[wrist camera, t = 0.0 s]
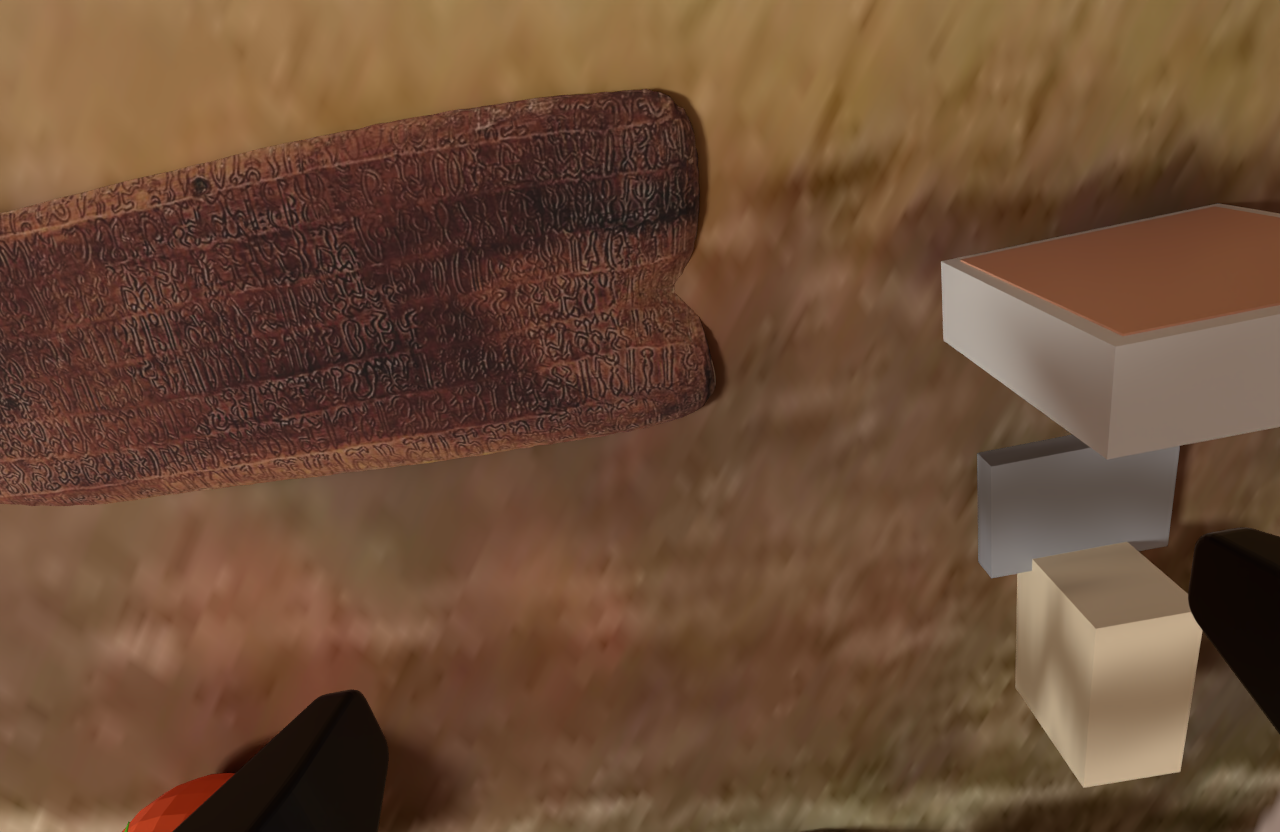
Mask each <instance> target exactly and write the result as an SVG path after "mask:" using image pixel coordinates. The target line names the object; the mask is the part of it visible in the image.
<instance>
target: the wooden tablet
mask: <svg viewBox="0 0 1280 832" xmlns="http://www.w3.org/2000/svg"><path fill="white" fill-rule="evenodd" d="M698 177H699V170H698V153H697V150H696V147H695V136H694V132H693V128H692V125H691V122H690V120H689V117H688V116H687V115H686V112H685V110H684V109H683V108H680V107H679V106H677V105H676V104H675V102H674V101H673V100H672V99H671V98H670V96H668V95H665V94H663V93H660V92H654V91H651V90H648V89H643V90H628V91H619V92H612V93H611V92H601V93H595V94H581V95H561V96H553V97H542V98H534V99H527V100H521V101H515V102H509V103H503V104H497V105H489V106H482V107H477V108H472V109H459V110H453V111H447V112H443V113H438V114H434V115H428V116H421V117H414V118H409V119H403V120H398V121H393V122H389V123H380V124H375V125H371V126H368V127H364V128H361V129H358V130H346V131H343V132H339V133H334V134H329V135H324V136H318V137H314V138H310V139H306V140H301V141H295V142H290V143H285V144H280V145H275V146H270V147H265V148H261V149H257V150H253V151H249V152H246V153H242V154H238V155H234V156H230V157H226V158H223V159H219V160H216V161H212V162H207V163H202V164H198V165H193V166H189V167H186V168H182V169H179V170H175V171H171V172H166V173H161V174H156V175H152V176H147V177H142V178H138V179H133V180H129V181H125V182H121V183H118V184H114V185H110V186H106V187H102V188H99V189H95V190H91V191H87V192H83V193H79V194H75V195H71V196H67V197H62V198H58V199H54V200H51V201H47V202H44V203H40V204H36V205H33V206H29V207H25V208H21V209H17V210H13V211H9V212H4V213H0V504H22V505H29V506H38V505H48V506H71V505H82V504H83V505H94V504H108V503H115V502H121V501H132V500H139V499H144V498H150V497H155V496H161V495H171V494H179V493H184V492H191V491H199V490H209V489H216V488H224V487H231V486H237V485H251V484H255V483H263V482H271V481H278V480H286V479H297V478H309V477H319V476H327V475H333V474H339V473H347V472H357V471H366V470H371V469H382V468H389V467H396V466H404V465H413V464H423V463H431V462H437V461H445V460H450V459H455V458H462V457H470V456H481V455H487V454H492V453H497V452H502V451H508V450H514V449H519V448H530V447H533V446H536V445H551V444H554V443H559V442H567V441H573V440H580V439H584V438H593V437H601V436H606V435H610V434H614V433H618V432H629V431H632V430H636V429H642V428H647V427H651V426H654V425H658V424H661V423H664V422H668V421H671V420H675V419H678V418H682V417H684V416H686V415H688V414H691V413H693V412H695V411H696V410H698V409H699V408H701V407H702V406H704V404H705V402H706V401H707V399H708V398H709V397H710V396H711V395H712V393H713V391H714V389H715V386H716V381H715V371H714V367H713V363H712V359H711V355H710V351H709V347H708V343H707V339H706V336H705V333H704V329H703V326H702V324H701V322H700V318H699V316H698V315H696V314H695V312H694V311H693V310H692V309H691V308H690V307H689V306H688V305H687V304H686V303H685V302H684V301H683V300H682V299H681V298H680V297H679V296H678V295H677V294H676V293H675V288H674V284H675V282H676V281H677V279H678V278H679V277H680V276H681V275H682V273H683V270H684V268H685V266H686V264H687V263H688V261H689V260H690V257H691V254H692V252H693V250H694V241H695V239H696V236H697V225H698V215H699V195H700V189H699V181H698Z"/></svg>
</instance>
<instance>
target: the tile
mask: <svg viewBox="0 0 1280 832" xmlns="http://www.w3.org/2000/svg"><path fill="white" fill-rule="evenodd" d="M941 272H942V305H943V337H944V341H945V342H947V343H948V344H949V345H951V346H952V347H953V348H955V349H956V350H957V351H959V352H960V353H962V354H963V355H964V356H966V357H967V358H968V359H970V360H971V361H973V362H974V363H975V364H977V365H978V366H979V367H981V368H982V369H984V370H985V371H986V372H988V373H989V374H990V375H992V376H993V377H995V378H996V379H997V380H999V381H1000V382H1001V383H1003V384H1004V385H1005V386H1007V387H1008V388H1010V389H1011V390H1012V391H1014V392H1015V393H1016V394H1018V395H1019V396H1021V397H1022V398H1023V399H1025V400H1026V401H1027V402H1029V403H1030V404H1032V405H1033V406H1034V407H1036V408H1037V409H1038V410H1040V411H1041V412H1043V413H1044V414H1045V415H1047V416H1048V417H1049V418H1051V419H1052V420H1053V421H1055V422H1056V423H1058V424H1059V425H1060V426H1062V427H1063V428H1064V429H1066V430H1067V431H1069V432H1070V433H1071V434H1073V435H1074V436H1075V437H1077V438H1078V439H1080V440H1081V441H1082V442H1084V443H1085V444H1086V445H1088V446H1089V447H1090V448H1092V449H1093V450H1095V451H1096V452H1097V453H1099V454H1100V455H1101V456H1103V457H1104V458H1106V459H1113V458H1118V457H1123V456H1128V455H1134V454H1139V453H1144V452H1149V451H1155V450H1160V449H1165V448H1170V447H1176V446H1181V445H1186V444H1191V443H1197V442H1202V441H1207V440H1212V439H1218V438H1223V437H1228V436H1234V435H1239V434H1244V433H1249V432H1255V431H1260V430H1265V429H1270V428H1276V427H1280V213H1274V212H1268V211H1262V210H1256V209H1249V208H1243V207H1237V206H1231V205H1225V204H1219V203H1218V204H1213V205H1208V206H1204V207H1199V208H1194V209H1189V210H1184V211H1180V212H1175V213H1170V214H1165V215H1161V216H1156V217H1151V218H1146V219H1142V220H1137V221H1132V222H1127V223H1122V224H1118V225H1113V226H1108V227H1103V228H1099V229H1094V230H1089V231H1084V232H1079V233H1075V234H1070V235H1065V236H1060V237H1056V238H1051V239H1046V240H1041V241H1036V242H1032V243H1027V244H1022V245H1017V246H1013V247H1008V248H1003V249H998V250H993V251H989V252H984V253H979V254H974V255H970V256H965V257H960V258H955V259H951V260H946V261H941Z"/></svg>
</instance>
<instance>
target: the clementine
mask: <svg viewBox="0 0 1280 832" xmlns="http://www.w3.org/2000/svg"><path fill="white" fill-rule="evenodd" d="M234 774H235V773H221V774H211V775H207V776H204V777H201V778H197V779H195V780H192V781H189V782H187V783H184V784H181V785H179V786H176V787H175V788H173V789H171V790H170V791H168V792H166V793H165V794H163V795H162V796H160V797H159V798H157V799H156V800H155V801H153V802H152V803H151V804H149V805H148V806H146V807H145V808H144V809H142V810H141V811H140V812H139V813H138V814H137V815H136V816H135V817H134V819H133V820H132V821H131V822H128V824H127V827H126V828H125V829H124V830H123V831H122V832H172V831H173V830H175V829H176V828H177V827H178V826H179V825H180V824H181V823H182V822H183V821H184V820H185V819H186V818H188V817H189V816H190V815H191V814H192V813H193V812H194V811H195V810H196V809H197V808H198V807H199V806H201V805H202V804H203V803H204V802H205V801H206V800H207V799H208V798H209V797H210V796H211V795H212V794H214V793H215V792H216V791H217V790H218V789H219V788H220V787H221V786H222V785H223V784H224V783H226V782H227V781H228V780H229V779H230V778H231V777H232V776H233V775H234Z"/></svg>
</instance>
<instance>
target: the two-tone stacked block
mask: <svg viewBox="0 0 1280 832" xmlns="http://www.w3.org/2000/svg"><path fill="white" fill-rule="evenodd" d="M1179 450H1180V446H1176V447H1170V448H1165V449H1160V450H1155V451H1149V452H1144V453H1139V454H1134V455H1128V456H1123V457H1118V458H1113V459H1106V458H1104V457H1103V456H1101V455H1100V454H1099V453H1097V452H1096V451H1095V450H1093V449H1092V448H1090V447H1089V446H1088V445H1086V444H1085V443H1084V442H1082V441H1081V440H1080V439H1078V438H1077V437H1075V436H1074V435H1069V436H1064V437H1058V438H1053V439H1048V440H1043V441H1038V442H1032V443H1027V444H1022V445H1017V446H1012V447H1007V448H1001V449H996V450H991V451H986V452H981V453H977V473H978V562H979V563H980V564H981V566H982V567H983V568H984V569H985V571H986V572H987V573H988V575H989V576H990V577H991V578H995V577H1001V576H1006V575H1012V574H1017V625H1016V684H1015V688H1016V689H1017V691H1018V692H1019V694H1020V695H1021V696H1022V698H1023V699H1024V701H1025V702H1026V704H1027V705H1028V707H1029V708H1030V710H1031V711H1032V713H1033V714H1034V716H1035V717H1036V719H1037V720H1038V721H1039V723H1040V724H1041V726H1042V727H1043V729H1044V730H1045V732H1046V733H1047V735H1048V736H1049V738H1050V739H1051V741H1052V742H1053V743H1054V745H1055V746H1056V748H1057V749H1058V751H1059V752H1060V754H1061V755H1062V757H1063V758H1064V760H1065V761H1066V763H1067V764H1068V766H1069V767H1070V768H1071V770H1072V771H1073V773H1074V774H1075V776H1076V777H1077V779H1078V780H1079V782H1080V783H1081V785H1082V786H1083V788H1084V787H1090V786H1096V785H1103V784H1109V783H1115V782H1121V781H1127V780H1133V779H1139V778H1145V777H1151V776H1157V775H1163V774H1169V773H1176V772H1180V770H1181V764H1182V757H1183V751H1184V745H1185V738H1186V732H1187V725H1188V719H1189V713H1190V706H1191V700H1192V694H1193V687H1194V681H1195V675H1196V668H1197V662H1198V656H1199V649H1200V643H1201V637H1202V629H1201V628H1200V626H1199V625H1198V624H1197V622H1196V620H1195V619H1194V617H1193V615H1192V613H1191V610H1190V607H1189V602H1188V594H1187V593H1186V592H1185V591H1184V590H1183V589H1182V588H1180V587H1179V586H1178V585H1177V584H1176V583H1175V582H1173V581H1172V580H1171V579H1170V578H1169V577H1168V576H1166V575H1165V574H1164V573H1163V572H1162V571H1161V570H1160V569H1158V568H1157V567H1156V566H1155V565H1154V564H1153V563H1151V562H1150V561H1149V560H1148V559H1147V558H1146V557H1144V556H1143V555H1142V554H1141V553H1140V552H1139V551H1143V550H1148V549H1154V548H1159V547H1165V546H1168V539H1169V531H1170V523H1171V515H1172V507H1173V499H1174V490H1175V482H1176V474H1177V466H1178V458H1179Z"/></svg>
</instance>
